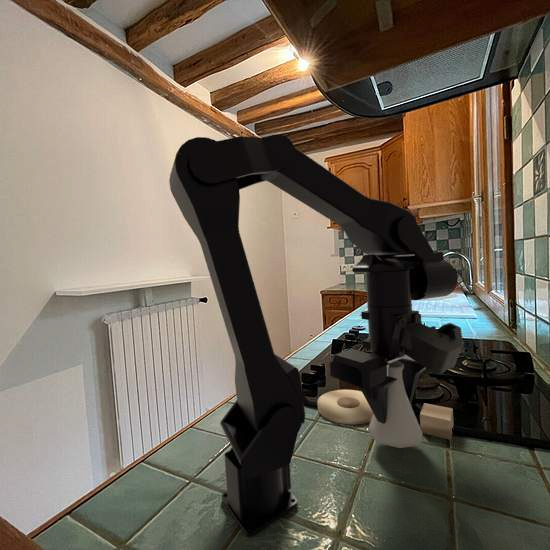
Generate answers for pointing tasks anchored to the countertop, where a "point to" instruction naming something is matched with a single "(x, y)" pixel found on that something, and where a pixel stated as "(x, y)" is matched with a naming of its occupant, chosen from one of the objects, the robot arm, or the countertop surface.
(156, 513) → the countertop surface
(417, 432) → the flask
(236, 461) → the robot arm
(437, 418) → the cork block
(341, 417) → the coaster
